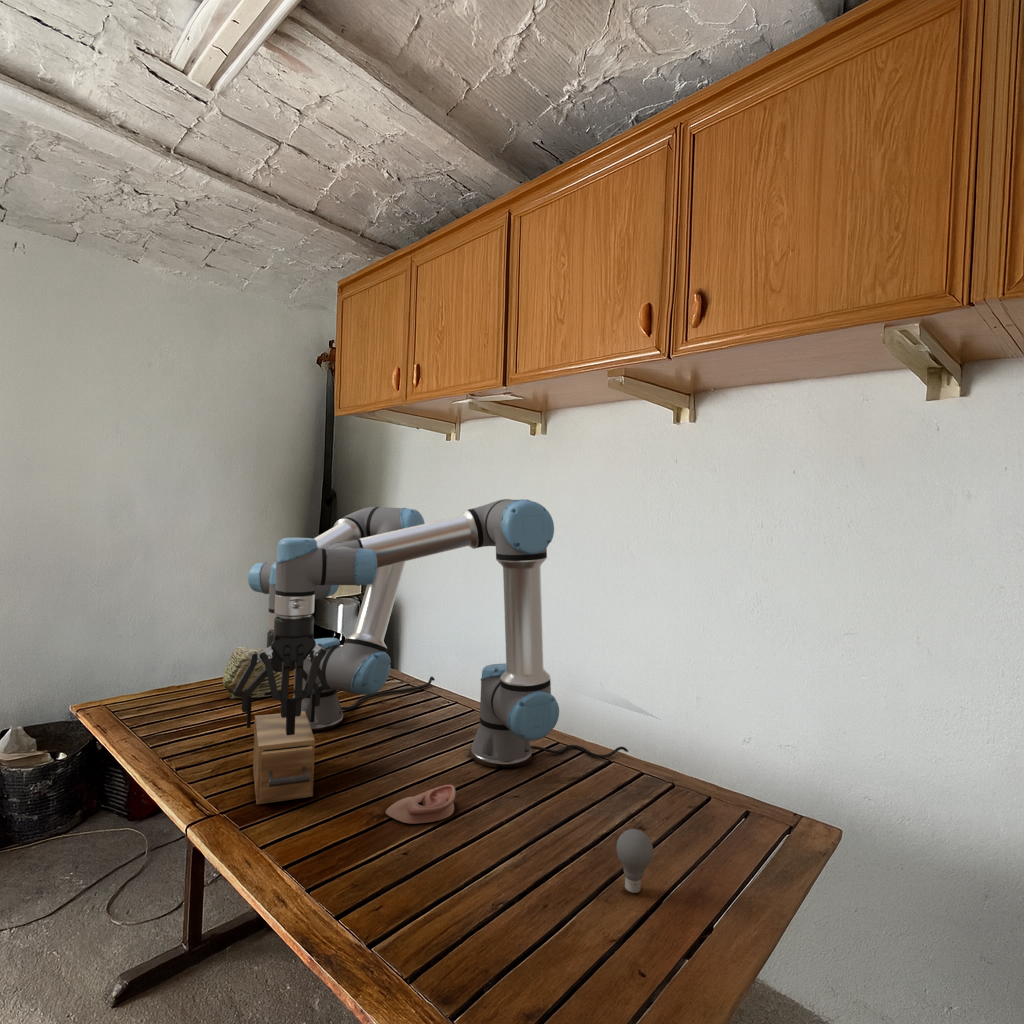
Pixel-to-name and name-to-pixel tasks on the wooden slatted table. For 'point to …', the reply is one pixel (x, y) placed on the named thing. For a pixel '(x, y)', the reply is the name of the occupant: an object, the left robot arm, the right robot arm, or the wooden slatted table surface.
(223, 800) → the wooden slatted table surface
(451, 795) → the anatomical model
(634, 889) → the light bulb
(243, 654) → the fossil
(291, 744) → the cabinet
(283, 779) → the drawer
